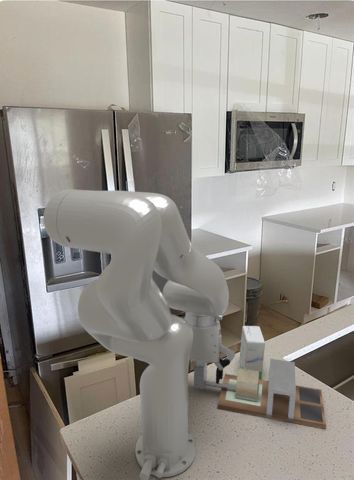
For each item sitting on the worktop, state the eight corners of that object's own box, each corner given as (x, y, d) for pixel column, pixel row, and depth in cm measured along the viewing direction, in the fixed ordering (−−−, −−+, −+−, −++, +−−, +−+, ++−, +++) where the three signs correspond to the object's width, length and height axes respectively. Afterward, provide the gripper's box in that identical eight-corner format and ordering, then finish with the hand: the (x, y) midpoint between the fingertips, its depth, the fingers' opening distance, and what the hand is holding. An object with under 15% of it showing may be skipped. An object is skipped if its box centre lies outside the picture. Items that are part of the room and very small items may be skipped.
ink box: (239, 361, 107) (240, 324, 104) (257, 361, 107) (259, 325, 104) (243, 380, 99) (245, 341, 96) (263, 380, 99) (265, 341, 95)
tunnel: (293, 422, 85) (295, 393, 82) (266, 417, 86) (268, 389, 84) (292, 388, 96) (294, 362, 93) (268, 384, 97) (270, 358, 95)
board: (325, 429, 83) (326, 424, 82) (217, 408, 89) (217, 404, 89) (320, 393, 94) (321, 389, 93) (224, 377, 100) (225, 373, 100)
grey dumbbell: (257, 401, 89) (258, 380, 87) (193, 389, 93) (193, 369, 91) (259, 385, 95) (260, 365, 93) (198, 375, 99) (198, 355, 97)
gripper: (238, 314, 91) (235, 374, 95) (171, 305, 95) (171, 363, 100) (234, 328, 84) (231, 392, 88) (162, 318, 88) (162, 380, 93)
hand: (199, 377), depth 94 cm, fingers open, 9 cm apart
